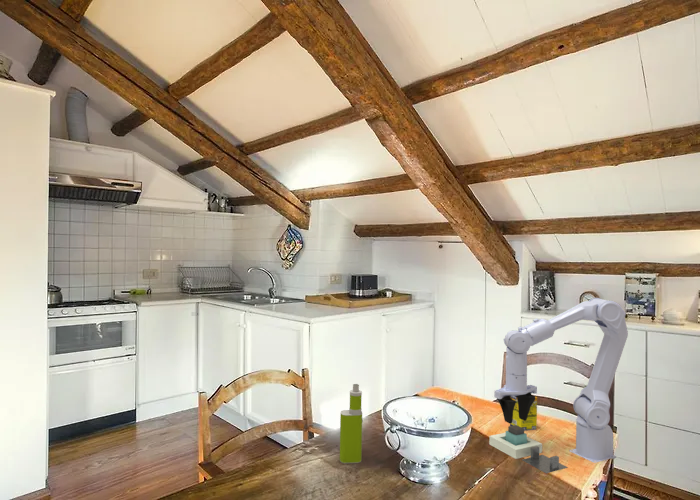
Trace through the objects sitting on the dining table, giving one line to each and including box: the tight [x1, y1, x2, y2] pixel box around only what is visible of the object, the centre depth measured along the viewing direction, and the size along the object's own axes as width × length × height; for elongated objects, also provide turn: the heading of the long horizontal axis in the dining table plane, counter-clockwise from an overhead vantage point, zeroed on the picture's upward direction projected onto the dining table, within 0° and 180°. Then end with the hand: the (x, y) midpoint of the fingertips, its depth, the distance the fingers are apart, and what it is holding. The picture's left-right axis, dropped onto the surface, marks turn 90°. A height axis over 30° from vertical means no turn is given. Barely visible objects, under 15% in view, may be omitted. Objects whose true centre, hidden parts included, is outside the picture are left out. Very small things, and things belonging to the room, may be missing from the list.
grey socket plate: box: [521, 446, 569, 474], centre depth 115 cm, size 8×8×4 cm
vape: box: [339, 383, 363, 464], centre depth 116 cm, size 4×6×20 cm, turn 98°
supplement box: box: [509, 395, 538, 432], centre depth 141 cm, size 6×6×11 cm
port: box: [488, 432, 543, 460], centre depth 124 cm, size 10×10×3 cm
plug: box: [505, 425, 528, 446], centre depth 124 cm, size 4×4×7 cm
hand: (515, 420), depth 124 cm, fingers open, 5 cm apart
